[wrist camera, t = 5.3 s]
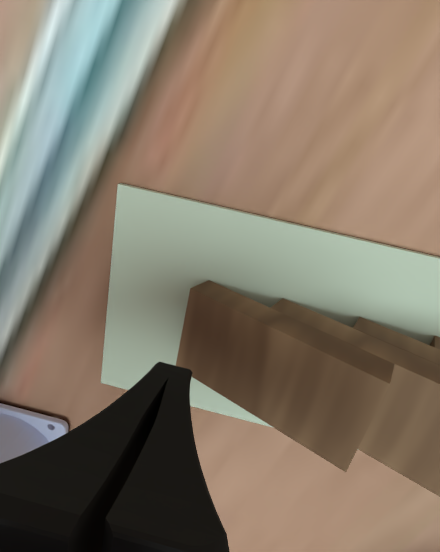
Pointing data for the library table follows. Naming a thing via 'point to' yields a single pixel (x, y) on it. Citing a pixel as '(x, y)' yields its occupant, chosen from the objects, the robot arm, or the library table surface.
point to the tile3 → (398, 340)
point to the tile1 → (283, 370)
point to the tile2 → (394, 403)
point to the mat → (246, 280)
